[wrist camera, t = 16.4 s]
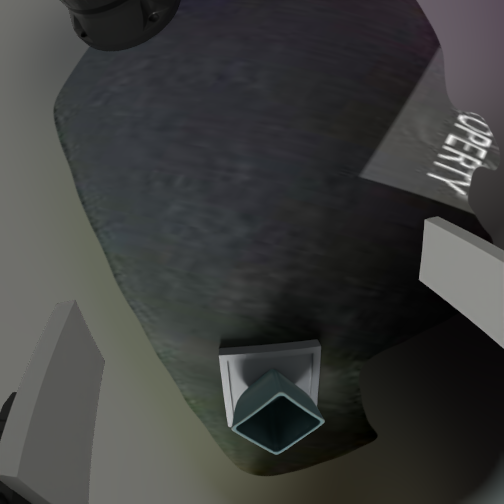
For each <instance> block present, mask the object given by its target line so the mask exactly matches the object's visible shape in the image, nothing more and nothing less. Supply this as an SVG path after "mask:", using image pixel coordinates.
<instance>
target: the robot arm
mask: <svg viewBox="0 0 504 504" xmlns="http://www.w3.org/2000/svg"><path fill="white" fill-rule="evenodd" d="M60 1H61V2H62V3H63V4H65V6H66V7H68V9H69V14H70V18H71V22H72V25H73V28H74V30H75V32H76V34H77V35H78V37H79V38H80V39H82V40H83V41H84V42H85V43H86V44H88V45H89V46H91V47H92V48H95V49H98V50H102V51H119V50H124V49H128V48H131V47H134V46H137V45H139V44H141V43H143V42H145V41H147V40H149V39H150V38H152V37H153V36H155V35H156V34H158V33H159V32H160V31H161V30H162V29H163V28H164V27H165V26H166V25H167V24H168V23H169V22H170V21H171V19H172V18H173V16H174V15H175V13H176V11H177V9H178V6H179V3H180V0H60ZM419 280H420V281H421V282H423V283H424V284H425V285H427V286H428V287H429V288H431V289H432V290H433V291H435V292H436V293H437V294H438V295H440V296H441V297H442V298H444V299H445V300H446V301H447V302H449V303H450V304H451V305H452V306H454V307H455V308H456V309H457V310H459V311H460V312H461V313H462V314H464V315H465V316H466V317H467V318H469V319H470V320H471V321H472V322H473V323H475V324H476V325H477V326H478V327H479V328H481V329H482V330H483V331H484V332H485V333H487V334H488V335H489V336H490V337H491V338H492V339H494V340H495V341H496V342H497V343H498V344H499V345H500V346H502V347H503V348H504V251H503V250H502V249H500V248H498V247H496V246H494V245H493V244H491V243H489V242H487V241H485V240H483V239H481V238H479V237H478V236H476V235H474V234H472V233H470V232H468V231H466V230H464V229H462V228H460V227H458V226H456V225H454V224H452V223H450V222H448V221H446V220H444V219H442V218H440V217H434V218H429V219H425V225H424V238H423V249H422V259H421V267H420V276H419ZM104 364H105V360H104V358H103V357H102V355H101V353H100V351H99V349H98V347H97V345H96V343H95V341H94V339H93V337H92V335H91V333H90V331H89V329H88V327H87V325H86V323H85V320H84V318H83V316H82V314H81V312H80V309H79V307H78V305H77V302H76V300H72V301H67V302H62V303H57V304H56V306H55V308H54V310H53V312H52V314H51V316H50V318H49V320H48V322H47V324H46V326H45V328H44V330H43V332H42V334H41V337H40V339H39V341H38V343H37V345H36V347H35V350H34V352H33V354H32V357H31V359H30V361H29V364H28V366H27V368H26V371H25V373H24V376H23V378H22V381H21V383H20V385H19V388H18V391H17V392H13V393H12V394H11V395H10V397H9V398H8V399H7V401H6V402H5V403H4V405H3V407H2V409H1V412H0V504H88V500H89V481H90V466H91V455H92V445H93V436H94V427H95V419H96V412H97V405H98V399H99V392H100V386H101V380H102V374H103V369H104Z"/></svg>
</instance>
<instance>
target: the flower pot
mask: <svg viewBox="0 0 504 504" xmlns="http://www.w3.org/2000/svg"><path fill="white" fill-rule="evenodd" d="M324 422H325V421H324V419H323V417H322V415H321V414H320V412H319V410H318V408H317V407H316V405H315V403H314V402H313V400H312V399H311V397H310V396H309V395H308V394H307V393H306V392H304V391H303V390H302V389H301V388H299V387H298V386H297V385H295V384H294V383H292V382H291V381H290V380H288V379H287V378H286V377H285V376H283V375H282V374H281V373H279V372H278V371H277V370H275V369H270V370H269V371H268V372H267V373H265V374H264V375H263V376H262V377H261V378H259V379H258V380H257V381H256V382H254V383H253V384H252V385H251V386H249V387H248V388H247V389H246V390H245V391H244V392H243V394H242V395H241V396H240V398H239V399H238V401H237V403H236V406H235V411H234V416H233V422H232V428H231V429H232V431H234V432H235V433H237V434H239V435H241V436H242V437H244V438H246V439H248V440H249V441H251V442H253V443H255V444H257V445H258V446H260V447H262V448H264V449H266V450H268V451H269V452H271V453H273V454H279V453H281V452H283V451H284V450H286V449H287V448H289V447H290V446H292V445H293V444H295V443H296V442H298V441H299V440H301V439H302V438H303V437H305V436H306V435H308V434H309V433H311V432H312V431H314V430H315V429H317V428H318V427H319V426H321V425H322V424H323V423H324Z"/></svg>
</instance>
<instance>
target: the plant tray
mask: <svg viewBox="0 0 504 504" xmlns="http://www.w3.org/2000/svg"><path fill="white" fill-rule="evenodd" d="M320 356H321V345H320V343H319V341H318V339H315V340H307V341H298V342H289V343H279V344H268V345H256V346H243V347H229V348H219V361H220V369H221V377H222V385H223V393H224V400H225V408H226V415H227V422H228V427H232V422H233V416H234V411H235V406H236V403H237V401H238V399H239V398H240V396H241V395H242V394H243V392H244V391H245V390H246V389H247V388H248V387H249V386H251V385H252V384H253V383H254V382H256V381H257V380H258V379H259V378H261V377H262V376H263V375H264V374H265V373H267V372H268V371H269V370H270V369H275V370H277V371H278V372H279V373H281V374H282V375H283V376H285V377H286V378H287V379H288V380H290V381H291V382H292V383H294V384H295V385H297V386H298V387H299V388H301V389H302V390H303V391H304V392H306V393H307V394H308V395H309V396H310V397H311V399H312V400H313V402H314V403H315V405H316V407H317V398H318V385H319V372H320Z"/></svg>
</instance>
